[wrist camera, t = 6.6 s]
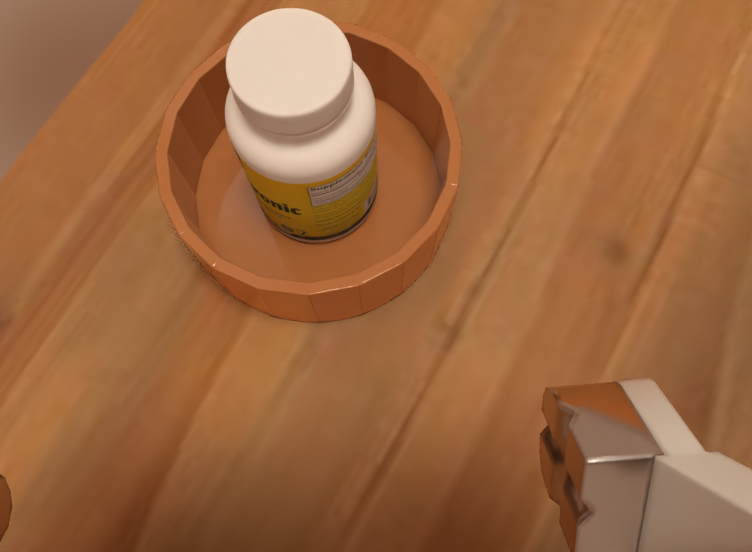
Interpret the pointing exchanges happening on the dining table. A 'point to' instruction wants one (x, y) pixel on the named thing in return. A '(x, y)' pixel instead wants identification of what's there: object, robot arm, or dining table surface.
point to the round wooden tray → (328, 259)
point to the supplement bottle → (302, 124)
